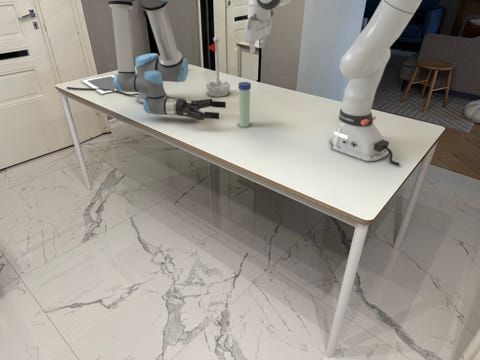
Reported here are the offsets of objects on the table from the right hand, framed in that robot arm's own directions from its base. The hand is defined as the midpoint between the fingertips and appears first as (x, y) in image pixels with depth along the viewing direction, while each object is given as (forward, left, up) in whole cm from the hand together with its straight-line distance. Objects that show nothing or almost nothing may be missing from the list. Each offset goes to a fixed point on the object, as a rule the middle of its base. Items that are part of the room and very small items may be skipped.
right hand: (257, 50), depth 139 cm
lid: (+2, +5, -14) cm, 15 cm away
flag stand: (+45, -9, -32) cm, 56 cm away
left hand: (+8, +12, -26) cm, 30 cm away
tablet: (+99, +36, -32) cm, 110 cm away
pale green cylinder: (+2, +5, -32) cm, 33 cm away
